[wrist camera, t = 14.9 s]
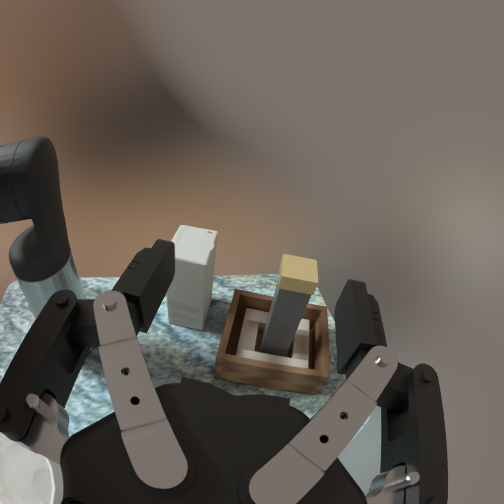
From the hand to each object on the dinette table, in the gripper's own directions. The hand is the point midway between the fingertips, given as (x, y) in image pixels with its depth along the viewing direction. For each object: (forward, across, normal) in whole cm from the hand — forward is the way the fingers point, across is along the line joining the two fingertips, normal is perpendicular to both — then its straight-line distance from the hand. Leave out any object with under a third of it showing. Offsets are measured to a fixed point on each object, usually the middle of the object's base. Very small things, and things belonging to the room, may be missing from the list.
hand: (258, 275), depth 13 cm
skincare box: (+23, +10, +32) cm, 40 cm away
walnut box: (+18, -5, +32) cm, 36 cm away
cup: (-16, +20, +32) cm, 41 cm away
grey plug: (+18, -5, +31) cm, 36 cm away
